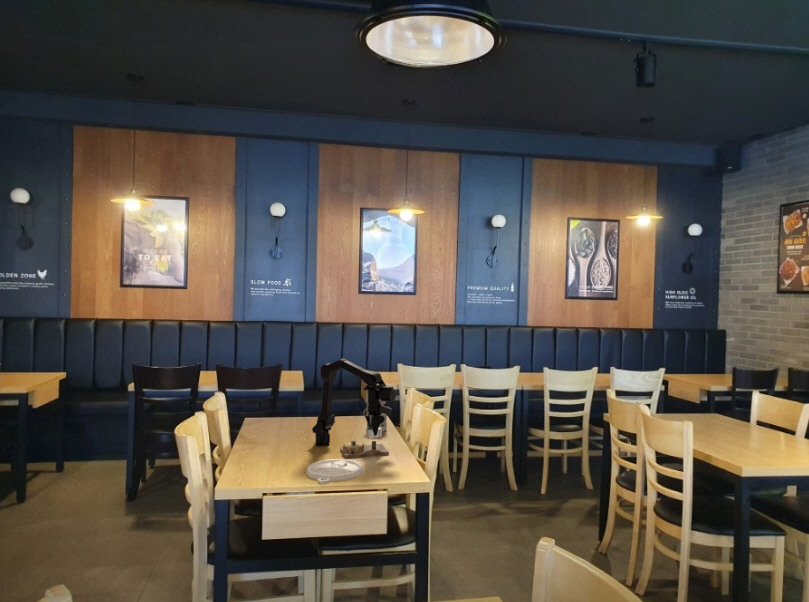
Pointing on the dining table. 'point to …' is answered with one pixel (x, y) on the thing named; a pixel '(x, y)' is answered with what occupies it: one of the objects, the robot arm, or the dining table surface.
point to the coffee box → (384, 424)
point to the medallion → (334, 470)
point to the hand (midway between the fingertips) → (373, 433)
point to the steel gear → (373, 433)
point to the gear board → (363, 450)
